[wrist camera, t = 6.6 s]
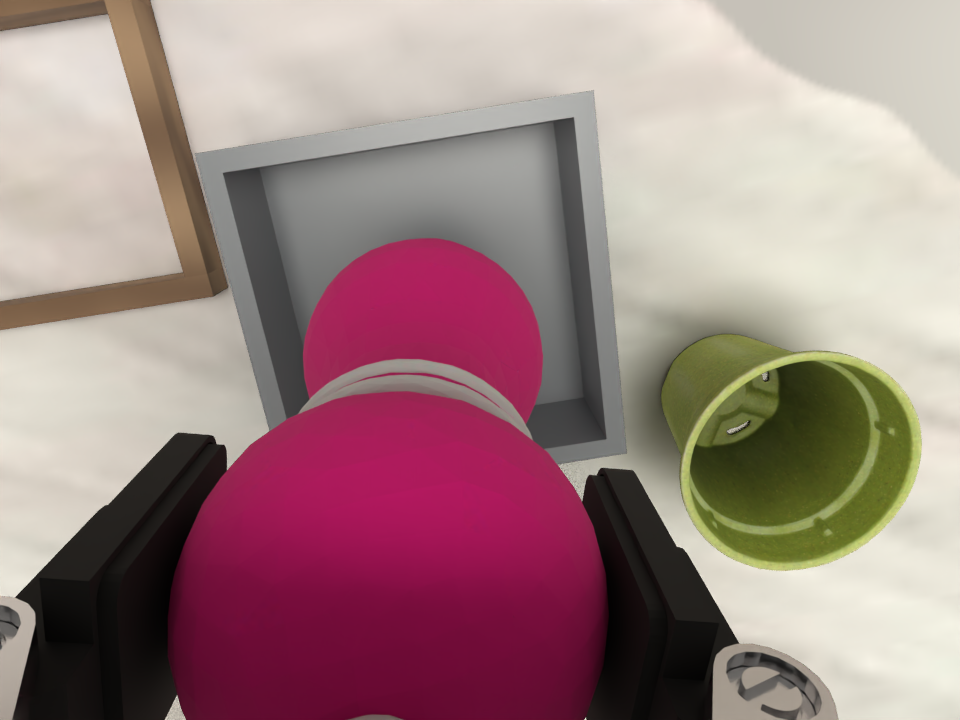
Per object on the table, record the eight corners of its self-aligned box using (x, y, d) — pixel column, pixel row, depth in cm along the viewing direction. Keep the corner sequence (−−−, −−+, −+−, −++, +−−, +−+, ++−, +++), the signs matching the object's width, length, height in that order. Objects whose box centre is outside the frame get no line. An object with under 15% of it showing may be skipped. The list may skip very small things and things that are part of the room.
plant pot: (675, 503, 36) (742, 608, 28) (594, 362, 33) (641, 432, 25) (834, 418, 35) (954, 502, 27) (764, 265, 32) (871, 305, 24)
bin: (597, 403, 34) (626, 453, 29) (315, 448, 34) (290, 506, 29) (566, 101, 30) (593, 90, 24) (242, 152, 30) (194, 153, 24)
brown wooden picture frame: (227, 287, 32) (213, 296, 30) (-45, 330, 32) (-76, 342, 30) (144, -21, 28) (121, -33, 26) (-167, 29, 28) (-213, 20, 26)
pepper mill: (532, 404, 26) (761, 1129, 7) (345, 421, 26) (44, 1206, 7) (521, 214, 24) (816, 499, 5) (316, 231, 23) (-254, 596, 4)
